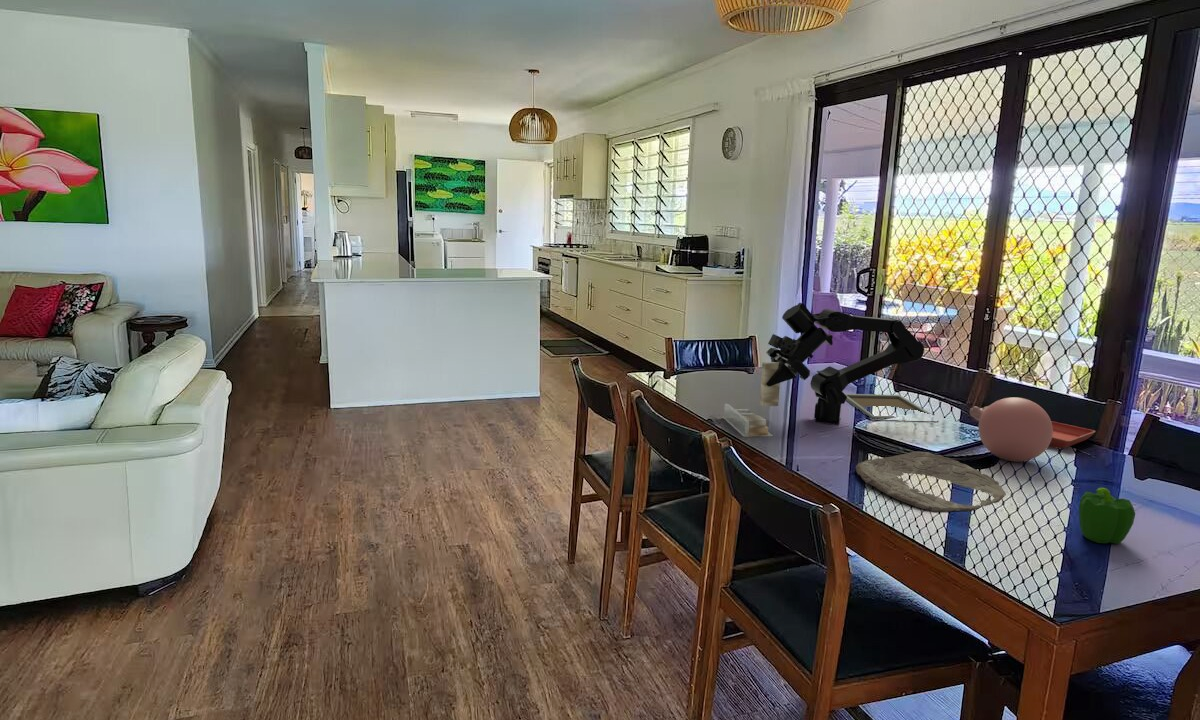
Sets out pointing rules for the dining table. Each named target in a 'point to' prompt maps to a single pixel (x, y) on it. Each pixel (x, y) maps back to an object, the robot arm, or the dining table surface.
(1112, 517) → the bell pepper
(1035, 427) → the balloon
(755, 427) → the offcut pile
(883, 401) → the picture frame
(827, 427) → the dining table surface
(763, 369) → the beige wooden block
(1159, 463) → the dining table surface
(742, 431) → the offcut rack
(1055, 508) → the dining table surface
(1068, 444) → the plant saucer
